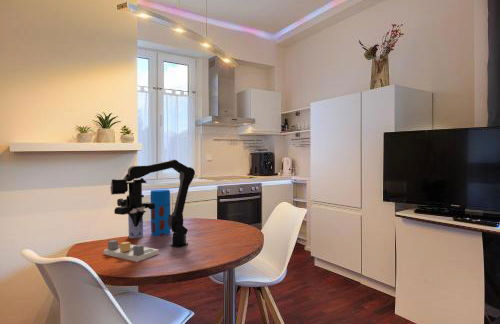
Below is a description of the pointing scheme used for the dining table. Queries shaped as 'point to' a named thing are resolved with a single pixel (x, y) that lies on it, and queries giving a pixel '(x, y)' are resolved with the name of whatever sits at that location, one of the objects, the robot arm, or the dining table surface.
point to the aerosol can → (135, 228)
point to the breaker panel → (130, 251)
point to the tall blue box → (160, 212)
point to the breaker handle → (125, 246)
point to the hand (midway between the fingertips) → (135, 226)
